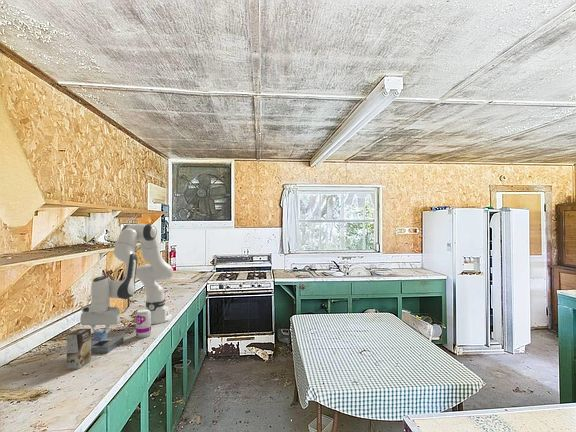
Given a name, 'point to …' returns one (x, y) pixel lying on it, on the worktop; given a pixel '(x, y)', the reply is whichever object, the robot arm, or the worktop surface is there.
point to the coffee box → (78, 348)
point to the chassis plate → (106, 344)
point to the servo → (100, 335)
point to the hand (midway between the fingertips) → (100, 332)
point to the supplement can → (143, 323)
